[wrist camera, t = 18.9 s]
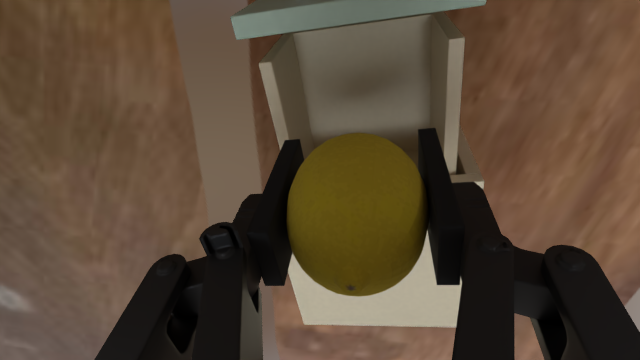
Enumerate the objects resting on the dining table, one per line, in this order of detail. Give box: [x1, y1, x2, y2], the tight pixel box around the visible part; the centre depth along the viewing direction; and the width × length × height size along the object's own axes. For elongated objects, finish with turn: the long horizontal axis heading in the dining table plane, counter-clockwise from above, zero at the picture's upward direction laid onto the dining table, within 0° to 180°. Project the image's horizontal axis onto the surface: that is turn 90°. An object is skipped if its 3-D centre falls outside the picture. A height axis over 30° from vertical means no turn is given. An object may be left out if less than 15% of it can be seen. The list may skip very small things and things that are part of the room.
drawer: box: [231, 0, 486, 175], centre depth 23 cm, size 20×13×8 cm, turn 9°
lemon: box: [286, 133, 429, 297], centre depth 14 cm, size 6×6×8 cm
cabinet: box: [288, 124, 484, 327], centre depth 31 cm, size 15×14×10 cm
